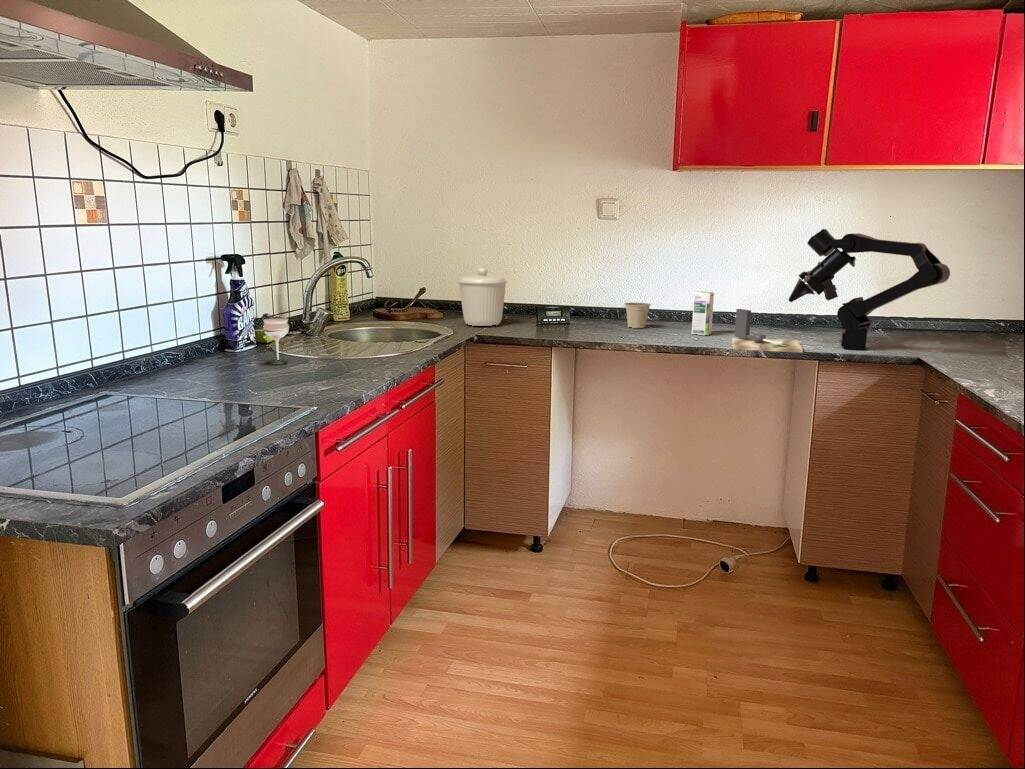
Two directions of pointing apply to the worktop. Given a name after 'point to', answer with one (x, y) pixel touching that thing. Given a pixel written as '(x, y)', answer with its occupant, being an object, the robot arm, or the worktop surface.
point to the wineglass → (276, 329)
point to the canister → (482, 298)
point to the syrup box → (702, 313)
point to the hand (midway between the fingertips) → (789, 301)
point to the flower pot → (637, 314)
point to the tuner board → (767, 345)
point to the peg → (748, 327)
